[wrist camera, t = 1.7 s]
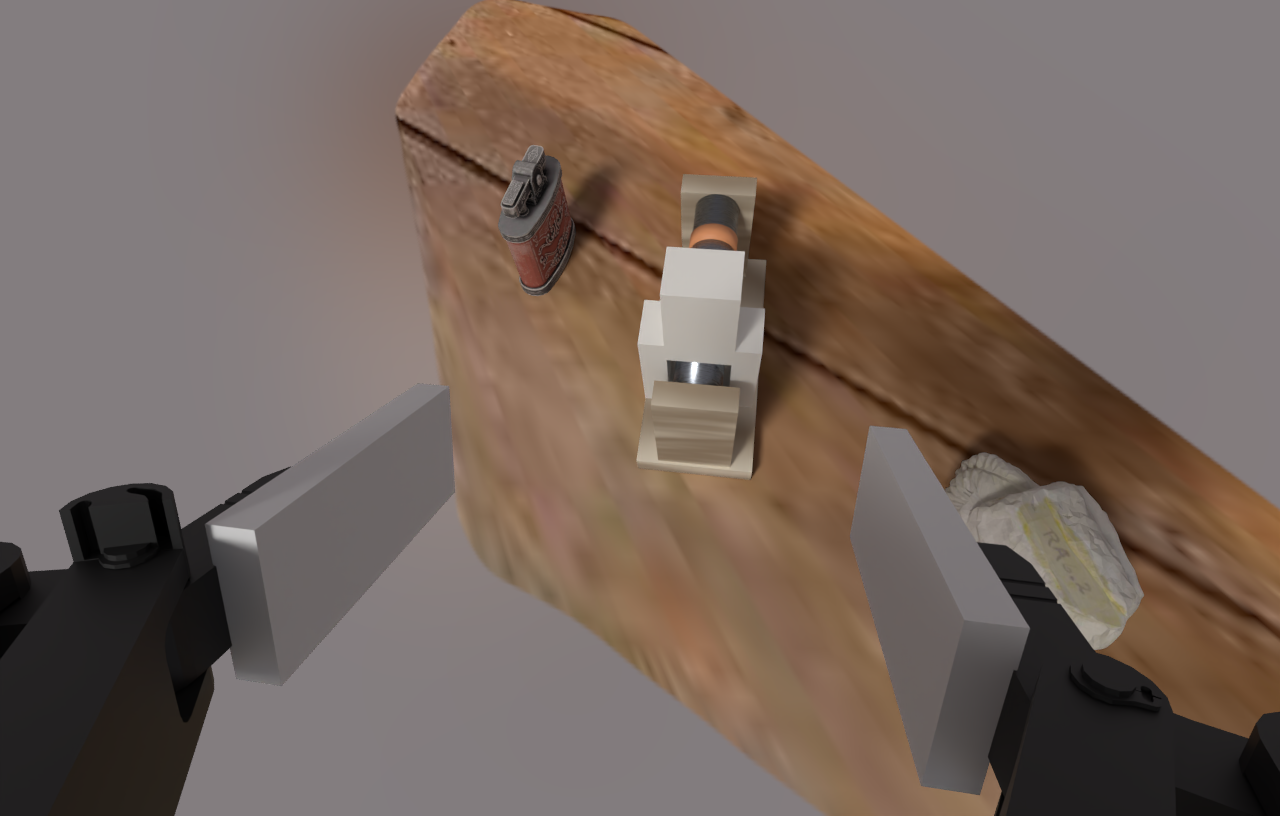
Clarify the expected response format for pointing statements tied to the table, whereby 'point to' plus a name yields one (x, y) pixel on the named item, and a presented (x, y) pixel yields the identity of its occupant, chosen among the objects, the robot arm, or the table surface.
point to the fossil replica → (1052, 541)
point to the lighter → (537, 221)
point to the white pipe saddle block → (702, 321)
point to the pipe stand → (697, 400)
